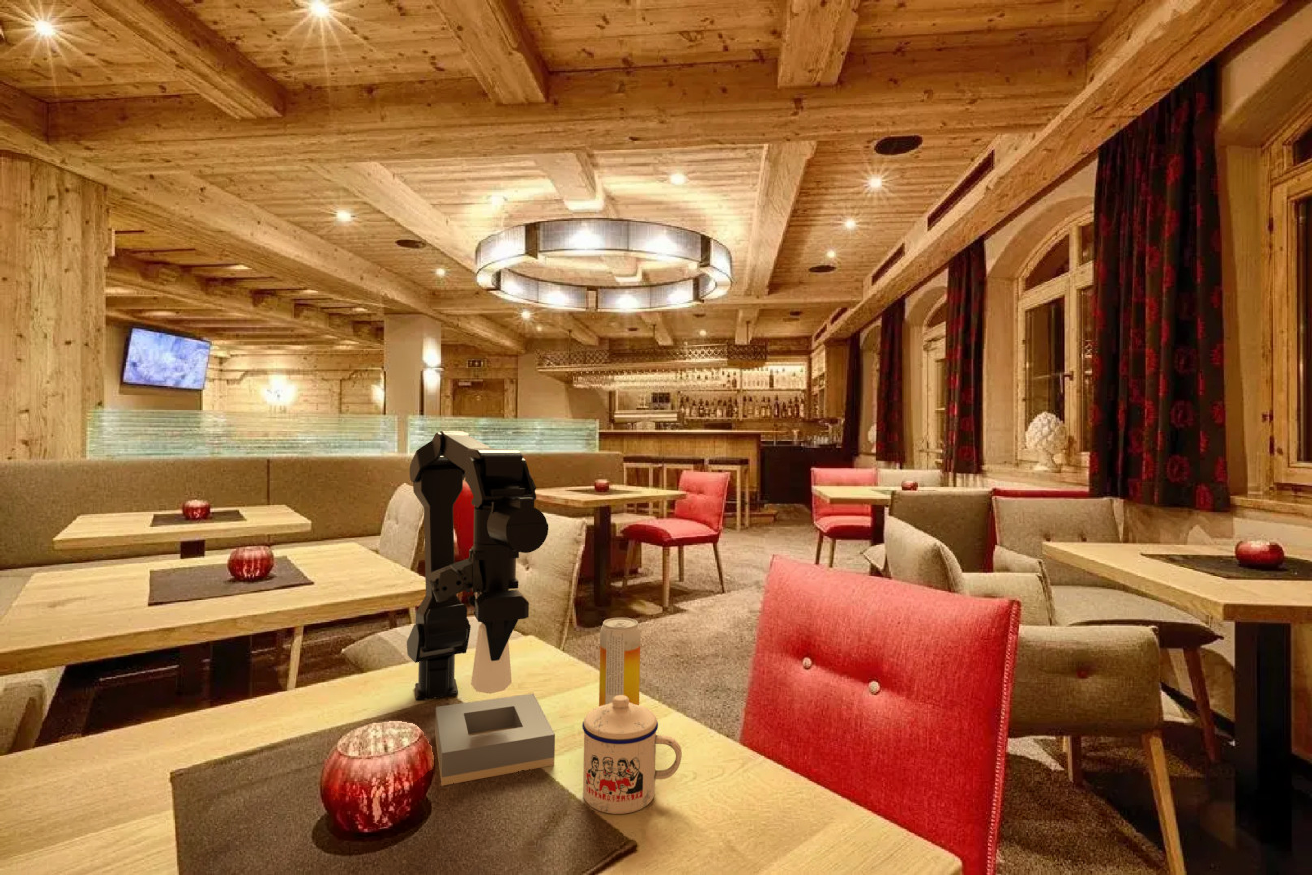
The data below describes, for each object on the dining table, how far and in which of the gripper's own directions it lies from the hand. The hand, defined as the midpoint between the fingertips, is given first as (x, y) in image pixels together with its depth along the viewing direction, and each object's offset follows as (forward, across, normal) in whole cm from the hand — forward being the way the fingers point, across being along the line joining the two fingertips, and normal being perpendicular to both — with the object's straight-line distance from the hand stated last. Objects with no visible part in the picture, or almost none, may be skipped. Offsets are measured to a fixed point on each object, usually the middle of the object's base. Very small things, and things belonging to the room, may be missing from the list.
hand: (492, 655), depth 86 cm
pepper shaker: (+4, -1, 0) cm, 4 cm away
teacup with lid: (+13, +17, +14) cm, 26 cm away
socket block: (+13, 0, 0) cm, 13 cm away
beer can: (+13, -2, +19) cm, 23 cm away
